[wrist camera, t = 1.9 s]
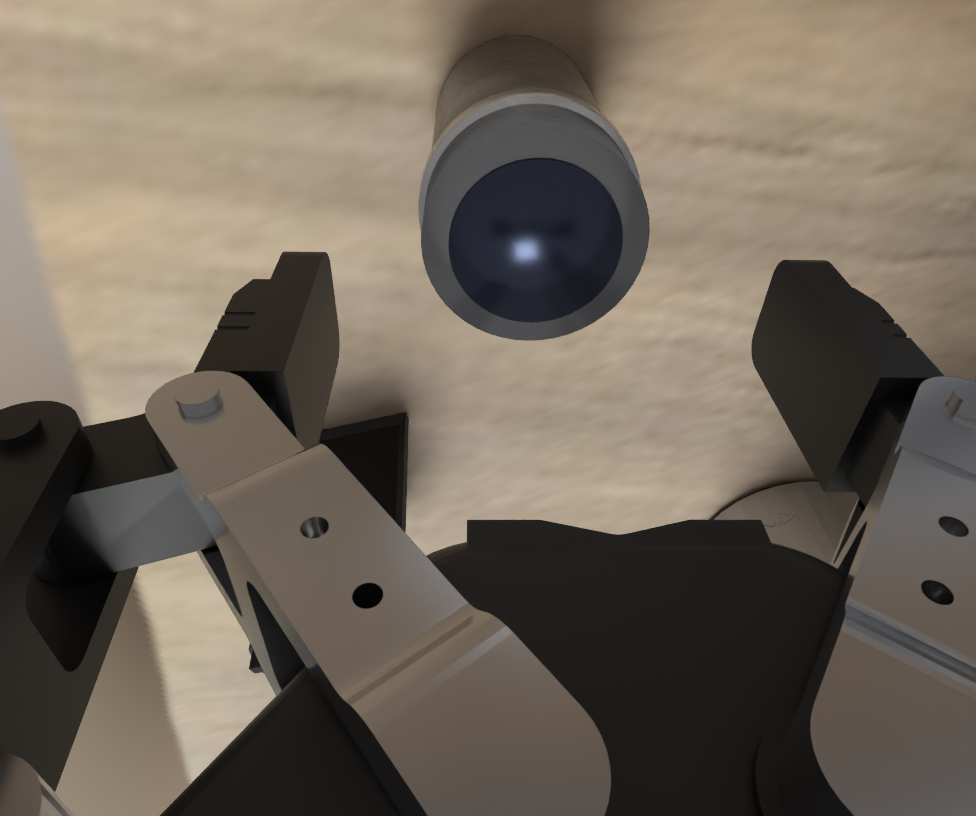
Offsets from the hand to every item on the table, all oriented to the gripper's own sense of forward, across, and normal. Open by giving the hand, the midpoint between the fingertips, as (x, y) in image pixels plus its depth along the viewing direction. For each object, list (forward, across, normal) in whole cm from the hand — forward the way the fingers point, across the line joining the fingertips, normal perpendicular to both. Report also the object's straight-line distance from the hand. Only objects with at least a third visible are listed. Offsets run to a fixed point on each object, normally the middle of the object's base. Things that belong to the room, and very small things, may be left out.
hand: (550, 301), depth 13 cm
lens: (+12, 0, 0) cm, 12 cm away
